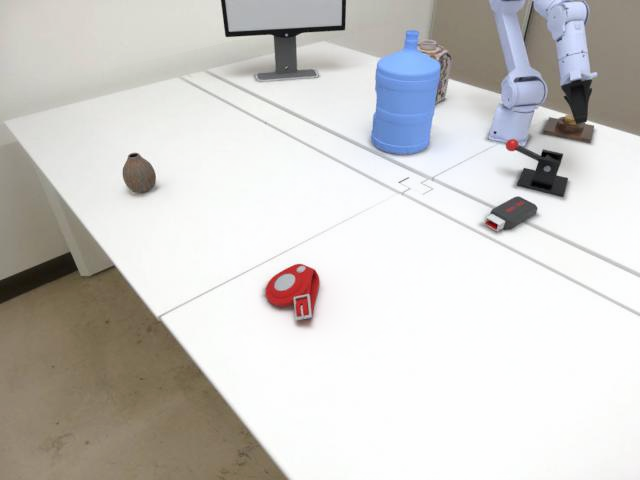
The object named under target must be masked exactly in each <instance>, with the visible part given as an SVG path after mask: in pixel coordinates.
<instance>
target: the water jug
mask: <svg viewBox="0 0 640 480" xmlns="http://www.w3.org/2000/svg"><path fill="white" fill-rule="evenodd" d="M404 33H405V37H404V45H403V49H401V50H399V51H396V52H393V53H390V54H387V55H386V56H383V57H381V58H380V59H379V60H377V63H376V68H375V77H374V79H375V84H374V85H375V86H374V91H375V94H376V103H375V112H373V113H374V114H373V115H372V124H371V125H372V126H371V132H370V140H371V143H372V144H373V145H374V147H376V148H377V149H379V150H381V151H382V152H386V153H388V154H395V155H412V154H418V153H420V152H423V151H425V149H427V148H428V146H429V144H430V142H431V133H432V132H431V130H432V125H433V118H434V115H435V109H436V104H435V100H436V94H437V88H438V84H439V79H440V69H441V66H440V64H439V62H438V61H436V60H435V59H433V58H431V57H429V56H427V55H425V54H423V53H422V52H420V51H418V49H417V44H419V35H420V31H419V30H410V29H409V30H406V31H405V32H404Z"/></svg>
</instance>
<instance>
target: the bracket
mask: <svg viewBox="0 0 640 480" xmlns="http://www.w3.org/2000/svg"><path fill="white" fill-rule="evenodd" d="M547 154H548V155H550V156H552V157H554V158H556V159H558V160H553V159H548V158H545V156H546V155H547ZM540 156H542V157H540V158H539V161H537V164H536V167H535V169H532V168H527V167H523V169H522V171H521V174H520V176H519V178H518V180H517V182H516V187H519V188H524V189H527V190H531V191H535V192H540V193H543V194H548V195H552V196H554V197H555V196H556V197H560V198H564V196H565V192H566V189H567V186H568V180H569V177H566V176H562V175H557V174H558V172H559V169H560V166H561V164H562V160H563V157H564V153H562V152H557V151H552V150H548V149H542V151H541V153H540Z"/></svg>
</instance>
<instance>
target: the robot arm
mask: <svg viewBox="0 0 640 480" xmlns="http://www.w3.org/2000/svg"><path fill="white" fill-rule="evenodd" d="M531 1H532V2H533V9H534V10H535V12H536V13H538V15H540V16H541V17H543V18H544V19H545V20H546V21H547V23H546V28H547V30H548V31H549V32H550V33H551V38H552V40H553V41H554V42H555V46H556V47H555V48H556V54H557V63H558V70H559V78H560V82H559V86H560V89H561V91H562V92H563V93H564V95H563V99H564V100H565V101H566V103H567V104H568V106H569V108H570V111H571V114H573V117H574V120H575V122H576V124H579V123H584V122H585V123H587V121H588V116H589V115H588V114H589V113H588V112H589V102H590V98H591V95H592V92H593V88H592V87H591V85H592V83H593V79H595V78H597V77H598V72H597V71H595V72H591V66H590V65H591V64H590V58H589V51H588V43H587V36H586V28H585V26H586V25H587V24H588V21H589V18H590V7H589V5H588V3H587V2H586V1H585V0H578V1H574V0H531ZM526 2H527V0H488V3H489V6H490V10H491V11H492V12H493V18H494V22H495V26H496V30H497V34H498V38H499V43H500V47H501V51H502V54H503V58H504V61H505V66H506V70H507V73H508V74H507V75H506V76H505V77H504V78H503V79H502V82H501V83H500V87H501V88H500V89H501V94H500V96H501V97H500V98H501V102H500V103H498V104H497V106H496V109H495V112H494V115H493V118H492V122H491V126H490V131H489V135H488V137H487V138H488V140H491V141H495V142H499V143H504V144H506V142H507V141H508V140H510V139H515V140H517V141H518V143H519V145H520V146H522V147H524V148H525V146H526V144H527V142H528V140H529V138H530V135H531V134H530V133H529V131H530V126H531V124H532V120H533V117H534V114H535V110H538V109H539V106H541V105H543V103H544V102H545V101H546V100H547V97H548V91H549V90H548V86H547V82H546V81H545V80H544V79H543V76H542V73H541V72H539V71H537V69H534V68H533V67H531V64H530V60H529V56H528V53H527V48H526V45H525V44H526V43H525V41H524V37H523V32H522V29H521V26H520V25H521V24H520V21H519V18H518V14H517V13H518V12H519V11H521V10H522V9H523V8H524V6H525V3H526Z"/></svg>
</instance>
